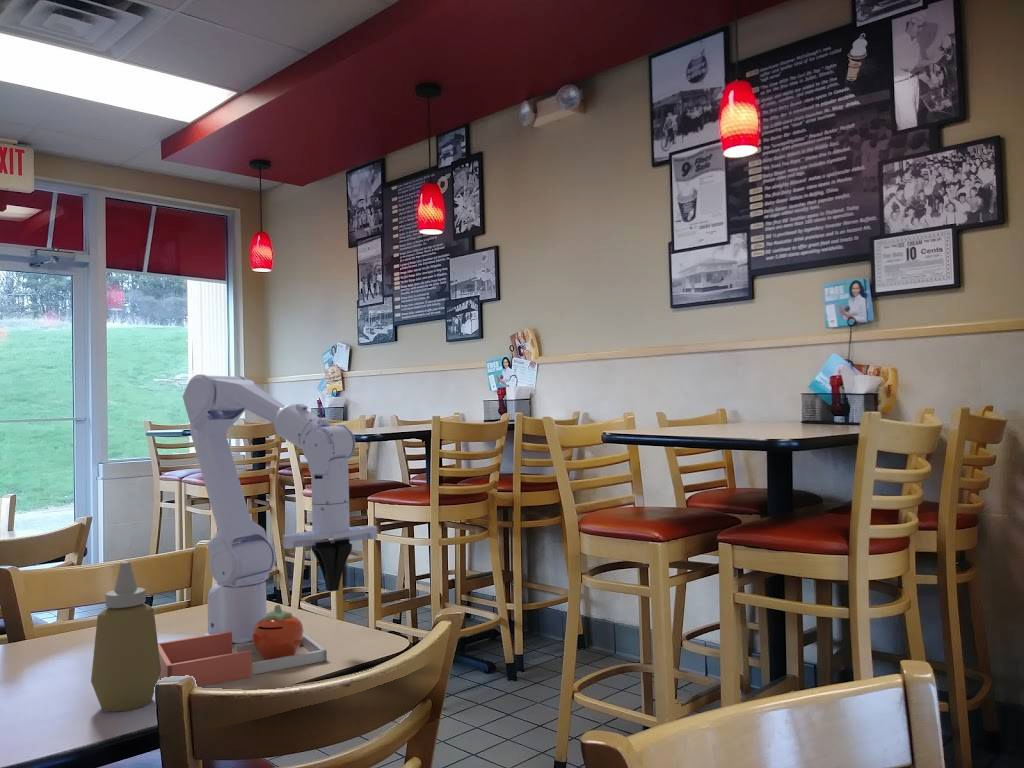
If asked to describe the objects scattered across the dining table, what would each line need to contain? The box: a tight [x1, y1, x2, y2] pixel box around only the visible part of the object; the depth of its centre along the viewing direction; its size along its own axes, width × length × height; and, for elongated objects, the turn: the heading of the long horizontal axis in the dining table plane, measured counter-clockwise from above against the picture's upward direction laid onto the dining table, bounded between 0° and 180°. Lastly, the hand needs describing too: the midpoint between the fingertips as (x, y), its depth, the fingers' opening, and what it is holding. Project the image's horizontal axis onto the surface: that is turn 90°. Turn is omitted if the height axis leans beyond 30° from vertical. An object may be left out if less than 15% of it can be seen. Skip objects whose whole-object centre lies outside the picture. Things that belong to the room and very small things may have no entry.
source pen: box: [235, 633, 328, 675], centre depth 120 cm, size 11×11×2 cm
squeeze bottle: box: [90, 561, 161, 712], centre depth 102 cm, size 8×8×18 cm
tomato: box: [252, 604, 304, 660], centre depth 120 cm, size 7×7×8 cm
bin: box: [158, 631, 252, 687], centre depth 114 cm, size 11×13×4 cm
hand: (332, 590), depth 124 cm, fingers closed
